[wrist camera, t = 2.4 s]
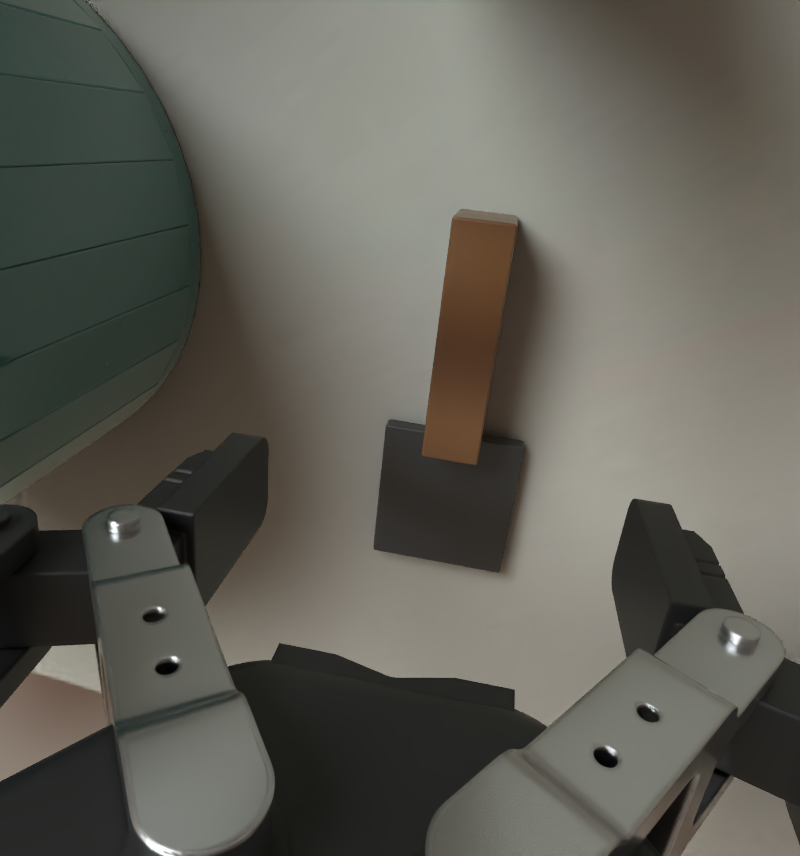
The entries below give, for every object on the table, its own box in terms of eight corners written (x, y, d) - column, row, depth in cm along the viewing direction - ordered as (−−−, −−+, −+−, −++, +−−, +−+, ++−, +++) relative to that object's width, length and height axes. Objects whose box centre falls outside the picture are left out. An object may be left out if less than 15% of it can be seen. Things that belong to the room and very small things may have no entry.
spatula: (411, 202, 20) (398, 209, 18) (568, 222, 20) (574, 231, 18) (375, 541, 25) (362, 578, 23) (500, 564, 25) (498, 604, 23)
